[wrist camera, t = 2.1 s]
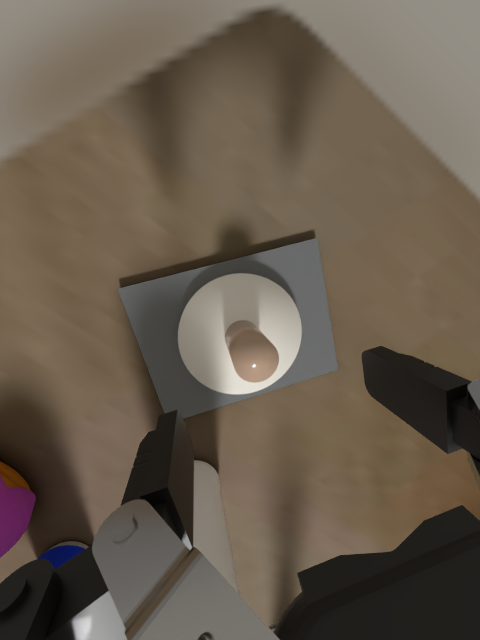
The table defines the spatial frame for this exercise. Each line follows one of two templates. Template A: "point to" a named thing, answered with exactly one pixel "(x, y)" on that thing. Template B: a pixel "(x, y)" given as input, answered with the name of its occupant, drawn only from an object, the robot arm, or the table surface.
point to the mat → (176, 290)
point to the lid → (239, 333)
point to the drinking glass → (212, 522)
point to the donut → (13, 507)
